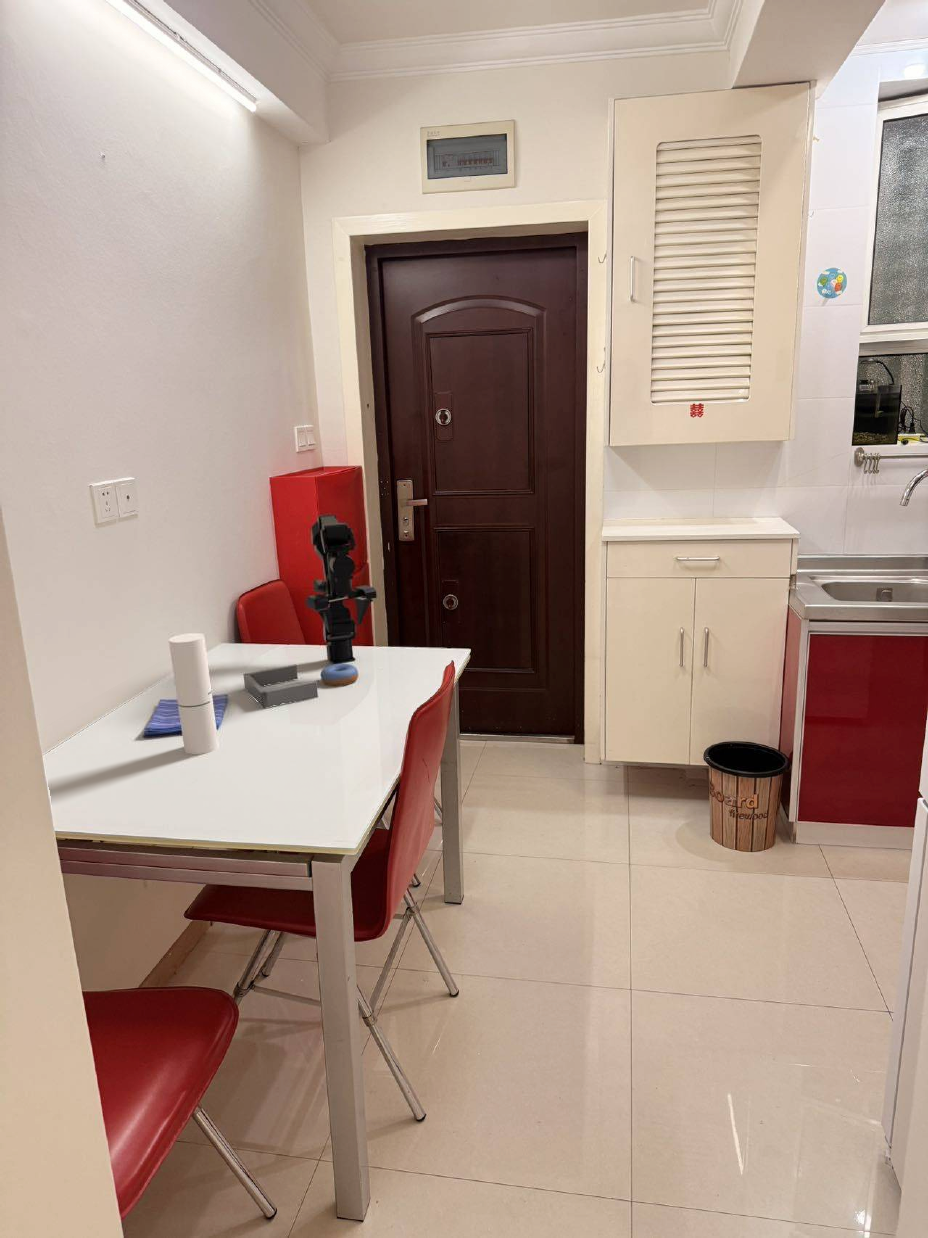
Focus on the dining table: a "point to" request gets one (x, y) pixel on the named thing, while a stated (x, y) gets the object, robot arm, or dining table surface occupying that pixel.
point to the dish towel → (178, 717)
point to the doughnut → (339, 674)
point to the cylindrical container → (194, 693)
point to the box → (280, 694)
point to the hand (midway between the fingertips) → (344, 628)
